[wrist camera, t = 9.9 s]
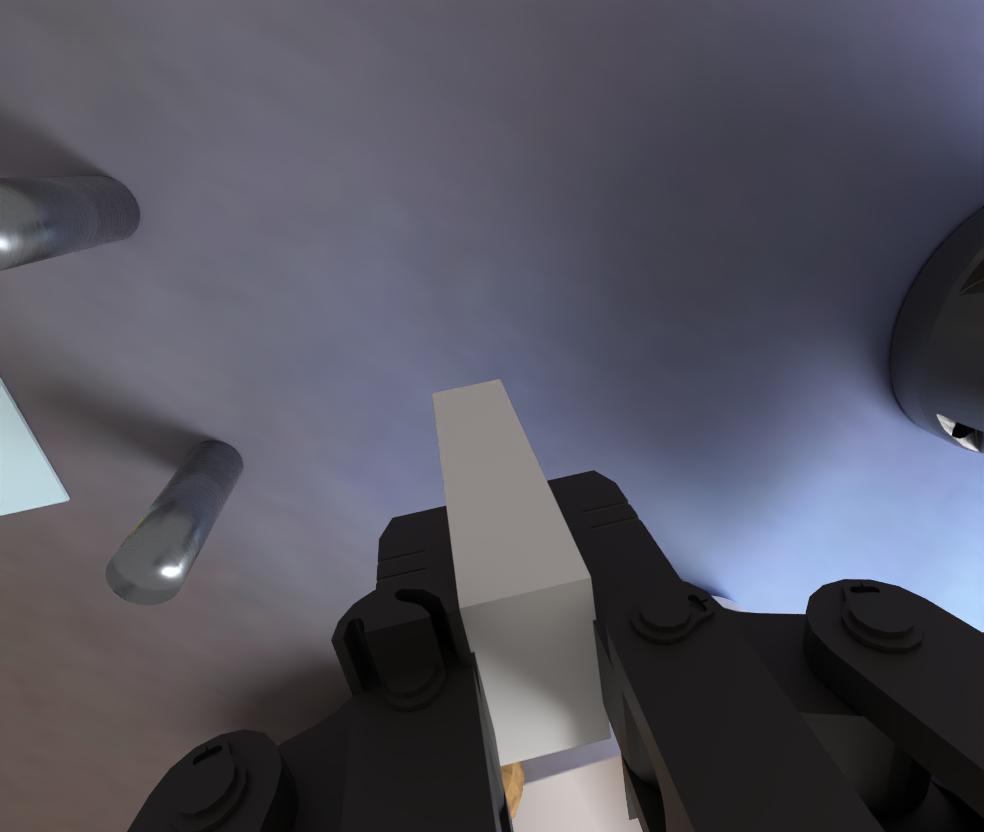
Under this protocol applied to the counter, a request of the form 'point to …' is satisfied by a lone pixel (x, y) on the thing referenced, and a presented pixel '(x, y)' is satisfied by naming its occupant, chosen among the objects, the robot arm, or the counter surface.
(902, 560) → the counter surface
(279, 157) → the counter surface
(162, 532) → the post
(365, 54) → the counter surface
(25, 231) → the post
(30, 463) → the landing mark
